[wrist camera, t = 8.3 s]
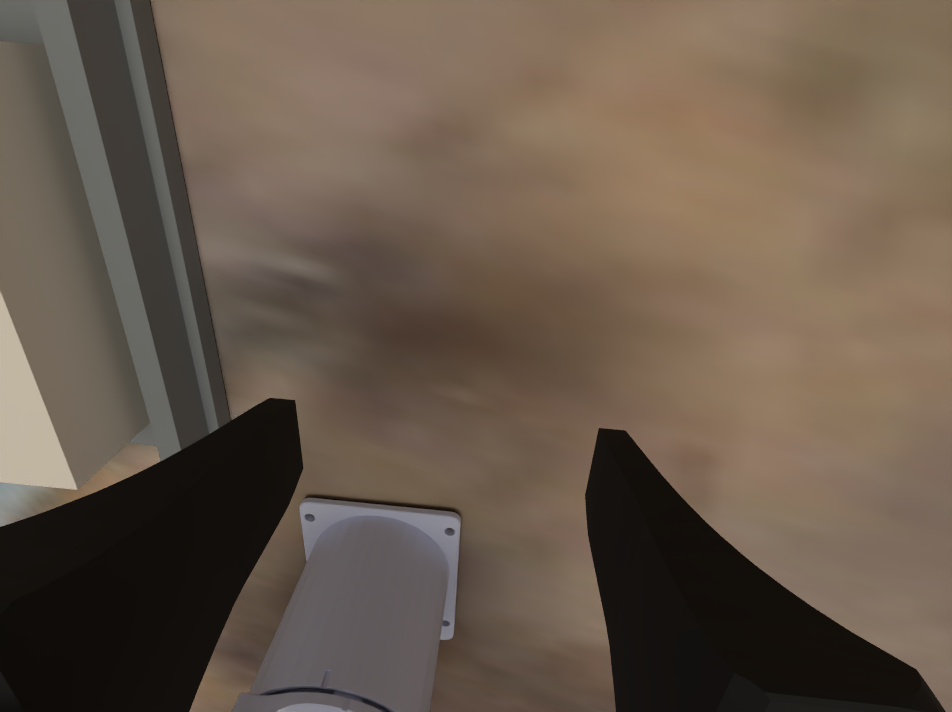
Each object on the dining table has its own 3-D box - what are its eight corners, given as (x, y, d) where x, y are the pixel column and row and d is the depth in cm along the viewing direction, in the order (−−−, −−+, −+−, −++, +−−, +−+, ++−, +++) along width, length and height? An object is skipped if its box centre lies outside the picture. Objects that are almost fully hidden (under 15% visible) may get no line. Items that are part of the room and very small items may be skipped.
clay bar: (161, 412, 23) (77, 489, 19) (95, 405, 23) (-3, 481, 19) (63, 45, 17) (-100, 34, 12) (-28, 39, 17) (-221, 26, 12)
